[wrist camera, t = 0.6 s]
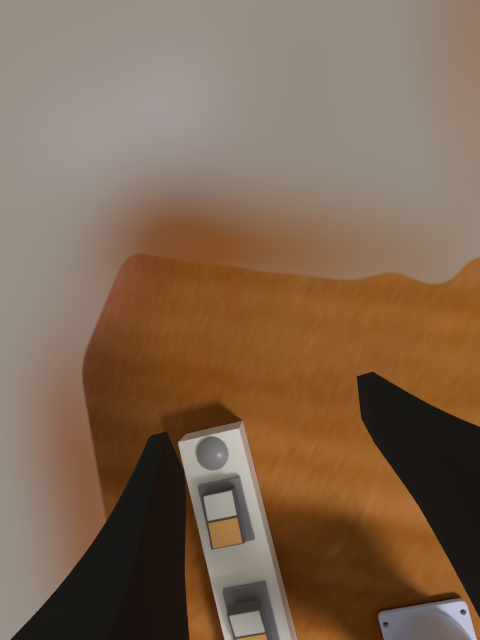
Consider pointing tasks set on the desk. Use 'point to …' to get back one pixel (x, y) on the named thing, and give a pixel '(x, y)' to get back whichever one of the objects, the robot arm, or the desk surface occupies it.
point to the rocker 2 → (248, 621)
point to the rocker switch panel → (258, 551)
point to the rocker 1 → (223, 518)
